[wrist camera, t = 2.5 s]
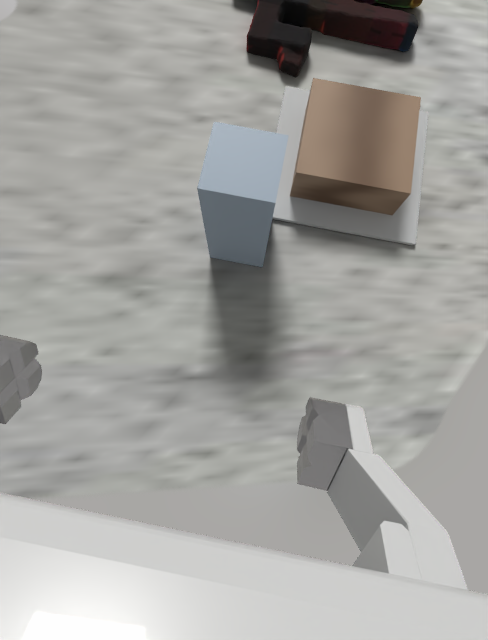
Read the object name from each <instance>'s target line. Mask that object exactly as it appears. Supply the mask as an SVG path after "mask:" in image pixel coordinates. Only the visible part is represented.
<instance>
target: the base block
mask: <svg viewBox="0 0 488 640" xmlns="http://www.w3.org/2000/svg"><path fill="white" fill-rule="evenodd" d="M420 100H421V97H416V96H410V95H404V94H399V93H393V92H388V91H382V90H377V89H371V88H366V87H360V86H354V85H349V84H343V83H338V82H332V81H327V80H321V79H316V78H313V82H312V86H311V90H310V94H309V98H308V102H307V106H306V111H305V116H304V122H303V127H302V132H301V138H300V143H299V149H298V154H297V159H296V165H295V170H294V176H293V181H292V186H291V192H290V196H291V197H296V198H302V199H307V200H313V201H318V202H323V203H329V204H334V205H339V206H345V207H350V208H355V209H361V210H366V211H371V212H377V213H382V214H387V215H393V214H394V213H395V212H396V211H397V209H398V208H399V207H400V206H401V205H402V203H403V202H404V201H405V200H406V199H407V198H408V196H409V195H410V194H411V188H412V178H413V168H414V158H415V149H416V139H417V129H418V119H419V110H420Z"/></svg>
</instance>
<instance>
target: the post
mask: <svg viewBox="0 0 488 640" xmlns="http://www.w3.org/2000/svg"><path fill="white" fill-rule="evenodd" d="M288 136H289V135H284V134H279V133H273V132H268V131H262V130H257V129H251V128H246V127H241V126H235V125H230V124H224V123H219V122H214V124H213V128H212V132H211V136H210V140H209V144H208V148H207V152H206V156H205V160H204V164H203V168H202V172H201V176H200V180H199V184H198V188H197V189H198V194H199V200H200V205H201V211H202V216H203V222H204V227H205V233H206V238H207V243H208V249H209V254H210V257H211V258H216V259H221V260H227V261H232V262H237V263H242V264H247V265H253V266H258V267H263V263H264V258H265V253H266V248H267V243H268V238H269V233H270V228H271V223H272V218H273V213H274V208H275V203H276V198H277V193H278V188H279V183H280V177H281V172H282V167H283V162H284V157H285V152H286V147H287V141H288Z"/></svg>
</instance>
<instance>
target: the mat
mask: <svg viewBox="0 0 488 640" xmlns="http://www.w3.org/2000/svg"><path fill="white" fill-rule="evenodd" d="M309 94H310V90H306V89H301V88H295V87H290V86H286V87H285V92H284V96H283V101H282V106H281V111H280V116H279V121H278V126H277V131H276V133H279V134H284V135H289V136H288V141H287V147H286V152H285V157H284V162H283V167H282V172H281V177H280V183H279V188H278V193H277V198H276V203H275V208H274V213H273V218H272V219H275V220H280V221H285V222H291V223H296V224H301V225H307V226H312V227H317V228H323V229H328V230H333V231H338V232H344V233H349V234H354V235H360V236H365V237H370V238H376V239H381V240H386V241H392V242H397V243H402V244H407V245H413V246H414V245H415V244H416V238H417V227H418V217H419V206H420V196H421V186H422V175H423V165H424V154H425V144H426V133H427V123H428V113H429V112H428V111H422V110H419V119H418V129H417V139H416V149H415V158H414V168H413V178H412V188H411V194H410V195H409V196H408V198H407V199H406V200H405V201H404V202H403V203H402V205H401V206H400V207H399V208H398V209H397V211H396V212H395V213H394V214H393V215H387V214H382V213H377V212H371V211H366V210H361V209H355V208H350V207H345V206H339V205H334V204H329V203H323V202H318V201H313V200H307V199H302V198H296V197H291V196H290V192H291V186H292V181H293V176H294V170H295V165H296V159H297V154H298V149H299V143H300V138H301V132H302V127H303V122H304V116H305V111H306V106H307V102H308V98H309Z"/></svg>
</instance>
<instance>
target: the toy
mask: <svg viewBox="0 0 488 640" xmlns="http://www.w3.org/2000/svg"><path fill="white" fill-rule="evenodd" d="M356 1H360V2H363V3H359V2H356ZM376 2H378V3H379V4H387V5H390V6H391V7H392V6H396V7H402V8H409V7H410V8H412V9H413V8H415V7H417V6H420V4H421V3H422V0H258V4H257V8H256V11H255V14H254V16H253V19H252V23H251V25H250V29H249V32H248V34H247V52H249V53H251V54H255V55H260V56H265V57H269V58H273V59H277V62H278V63H279V70H281V71H282V72H285V73H287V74H289V75H292V76H294V77H297V76H298V74H299V72H300V70H301V67H302V65H303V63H304V61H305V60H306V57H307V55H308V52H309V48H310V44H311V36H312V33H311V30H316V31H320V32H321V33H323V34H324V35H330V36H334V37H339V38H344V39H348V40H352V41H358V42H361V43H365V44H371V45H376V46H381V47H385V48H391V49H396V50H400V51H402V52H403V51H408V50H409V48H410V46H411V44H412V41H413V39H414V36H415V34H416V31H417V29H418V20H417V19H416V17H415V16H414V14H410V13H407V12H404V11H402V10H393V9H390V8H383V7H380V6H373V5H370V4H374V3H376ZM284 23H289V24H293V25H289V24H284ZM294 25H299V26H302V27H298V26H294Z"/></svg>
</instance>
